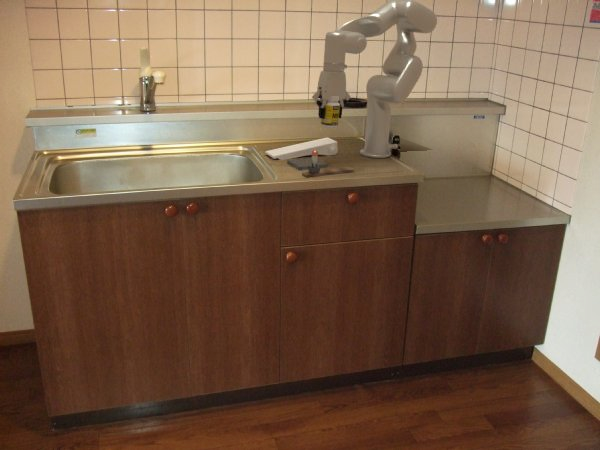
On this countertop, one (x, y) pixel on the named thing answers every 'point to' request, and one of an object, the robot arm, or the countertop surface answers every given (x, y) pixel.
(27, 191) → the countertop surface
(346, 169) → the lever rail
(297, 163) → the press bed
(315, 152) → the press lever
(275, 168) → the countertop surface
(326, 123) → the supplement bottle
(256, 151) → the countertop surface
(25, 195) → the countertop surface
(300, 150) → the wall bracket
